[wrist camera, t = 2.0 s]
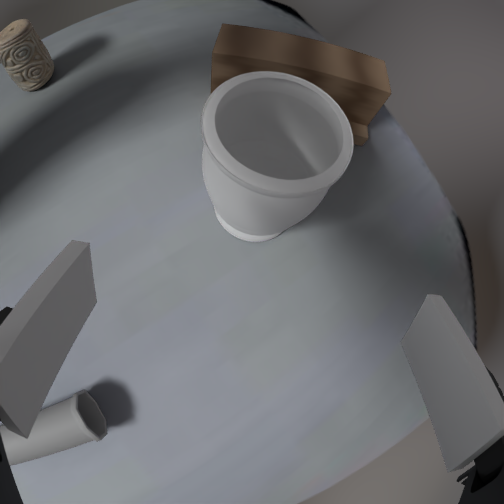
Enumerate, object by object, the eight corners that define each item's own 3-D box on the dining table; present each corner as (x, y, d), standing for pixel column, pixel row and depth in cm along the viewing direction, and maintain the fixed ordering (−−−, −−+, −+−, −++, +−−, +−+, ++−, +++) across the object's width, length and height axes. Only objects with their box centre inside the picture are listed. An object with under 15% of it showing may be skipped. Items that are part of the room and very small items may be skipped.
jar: (184, 215, 33) (167, 134, 19) (239, 147, 36) (256, 52, 21) (268, 272, 33) (312, 227, 18) (317, 197, 35) (375, 121, 21)
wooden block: (207, 116, 36) (208, 64, 28) (221, 64, 39) (225, 15, 30) (362, 146, 38) (393, 106, 29) (357, 92, 40) (382, 51, 32)
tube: (-30, 483, 18) (104, 449, 23) (-56, 451, 17) (70, 406, 22) (-17, 462, 23) (110, 420, 28) (-40, 431, 22) (82, 381, 27)
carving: (27, 72, 36) (1, 23, 24) (63, 63, 36) (41, 9, 25) (13, 100, 34) (-19, 51, 22) (50, 92, 35) (22, 36, 23)
